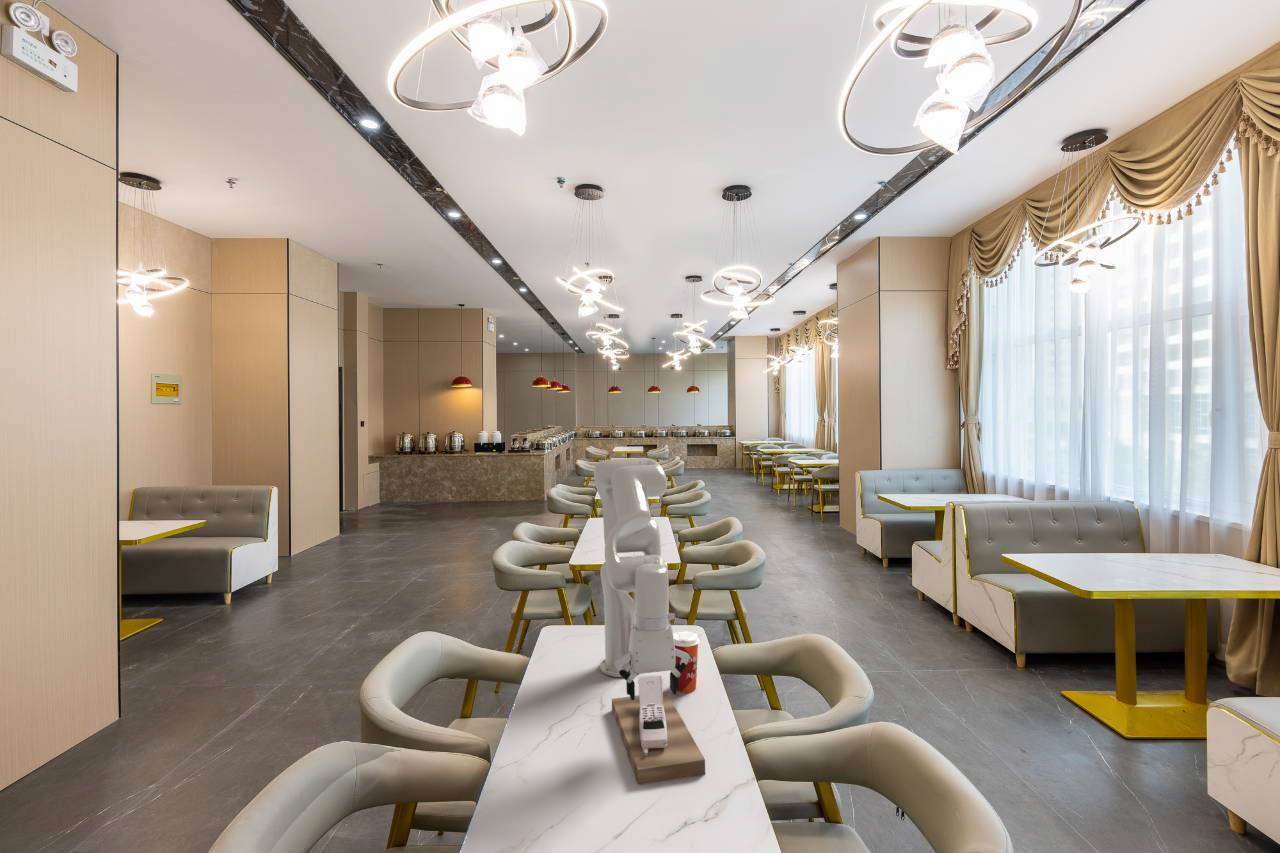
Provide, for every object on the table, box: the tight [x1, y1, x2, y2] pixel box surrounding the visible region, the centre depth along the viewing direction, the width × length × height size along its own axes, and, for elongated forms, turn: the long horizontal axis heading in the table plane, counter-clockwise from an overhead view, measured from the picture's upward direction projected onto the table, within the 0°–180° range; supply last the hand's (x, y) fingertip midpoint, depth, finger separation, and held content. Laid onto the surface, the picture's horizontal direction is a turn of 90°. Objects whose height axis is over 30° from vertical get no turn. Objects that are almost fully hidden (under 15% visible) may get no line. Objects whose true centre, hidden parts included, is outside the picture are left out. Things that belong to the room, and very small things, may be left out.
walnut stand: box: [611, 691, 706, 785], centre depth 137 cm, size 30×14×3 cm, turn 13°
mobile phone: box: [637, 675, 668, 756], centre depth 138 cm, size 6×6×25 cm
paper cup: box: [673, 630, 700, 694], centre depth 162 cm, size 8×8×14 cm
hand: (652, 694), depth 138 cm, fingers open, 9 cm apart
